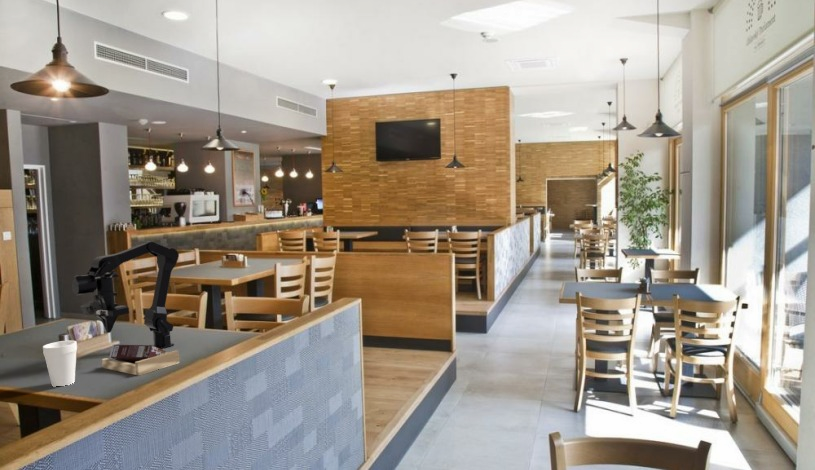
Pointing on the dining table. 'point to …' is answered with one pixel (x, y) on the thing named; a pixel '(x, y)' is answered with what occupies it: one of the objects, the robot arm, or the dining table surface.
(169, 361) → the frame
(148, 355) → the supplement box
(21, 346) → the dining table surface
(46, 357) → the foam cup
